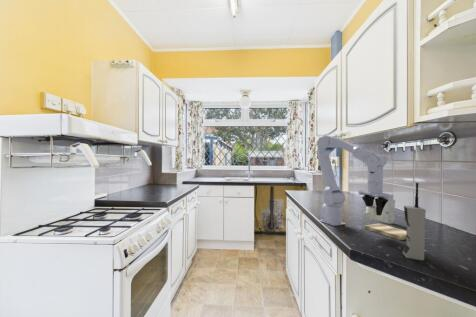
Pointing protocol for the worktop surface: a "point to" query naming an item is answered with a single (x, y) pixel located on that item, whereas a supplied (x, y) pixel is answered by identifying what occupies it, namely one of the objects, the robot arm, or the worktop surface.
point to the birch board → (387, 231)
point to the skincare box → (388, 212)
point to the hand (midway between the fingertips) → (374, 213)
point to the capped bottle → (372, 213)
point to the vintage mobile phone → (415, 230)
